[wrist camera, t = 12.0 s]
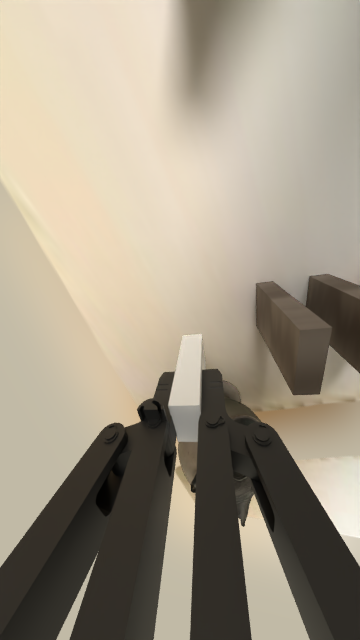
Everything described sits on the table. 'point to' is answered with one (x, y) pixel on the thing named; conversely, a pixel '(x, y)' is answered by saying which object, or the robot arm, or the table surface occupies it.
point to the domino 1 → (293, 338)
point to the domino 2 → (338, 313)
